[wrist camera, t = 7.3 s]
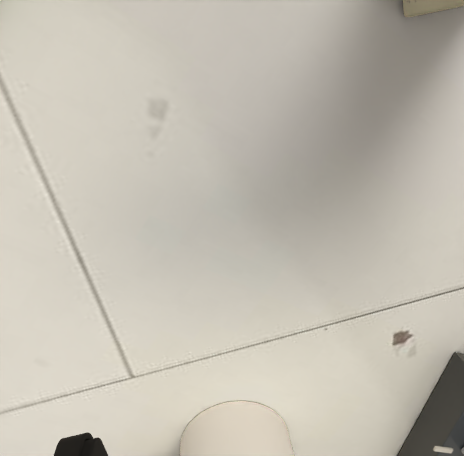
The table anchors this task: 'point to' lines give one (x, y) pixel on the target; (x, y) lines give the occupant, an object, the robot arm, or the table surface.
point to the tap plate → (441, 417)
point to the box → (428, 6)
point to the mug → (236, 432)
